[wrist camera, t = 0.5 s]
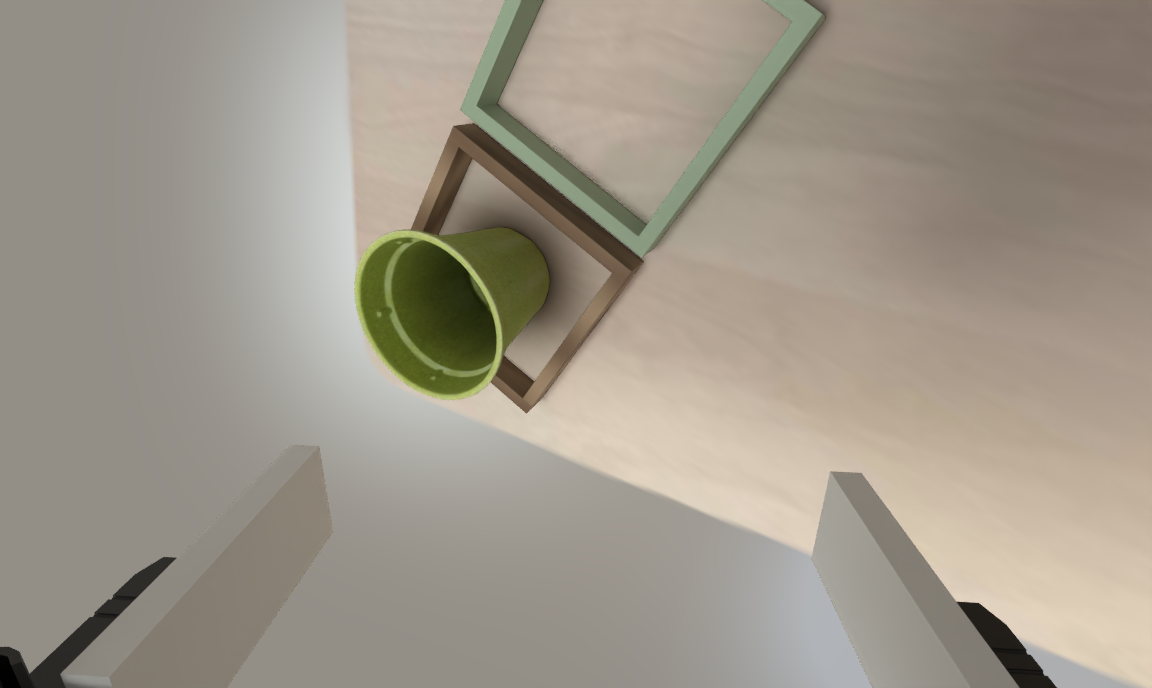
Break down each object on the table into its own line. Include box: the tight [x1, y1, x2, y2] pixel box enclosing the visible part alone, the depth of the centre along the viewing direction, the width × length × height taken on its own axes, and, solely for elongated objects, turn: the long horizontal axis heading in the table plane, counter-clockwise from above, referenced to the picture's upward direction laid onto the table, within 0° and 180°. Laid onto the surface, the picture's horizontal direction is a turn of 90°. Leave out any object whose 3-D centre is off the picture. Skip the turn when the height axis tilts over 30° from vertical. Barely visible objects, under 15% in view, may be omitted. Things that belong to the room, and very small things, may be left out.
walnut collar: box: [411, 124, 643, 413], centre depth 36 cm, size 13×13×2 cm
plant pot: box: [354, 228, 550, 400], centre depth 33 cm, size 9×9×9 cm
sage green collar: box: [460, 0, 825, 258], centre depth 28 cm, size 13×13×2 cm
